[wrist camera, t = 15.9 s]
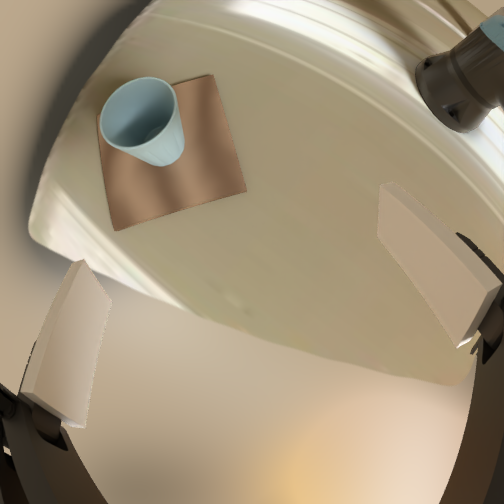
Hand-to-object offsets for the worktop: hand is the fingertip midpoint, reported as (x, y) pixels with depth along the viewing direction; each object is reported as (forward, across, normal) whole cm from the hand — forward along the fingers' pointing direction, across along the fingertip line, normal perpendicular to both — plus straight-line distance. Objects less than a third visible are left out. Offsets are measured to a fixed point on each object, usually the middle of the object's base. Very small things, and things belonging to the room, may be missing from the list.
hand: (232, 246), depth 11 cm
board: (+26, -7, -1) cm, 27 cm away
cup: (+25, -7, 0) cm, 26 cm away
